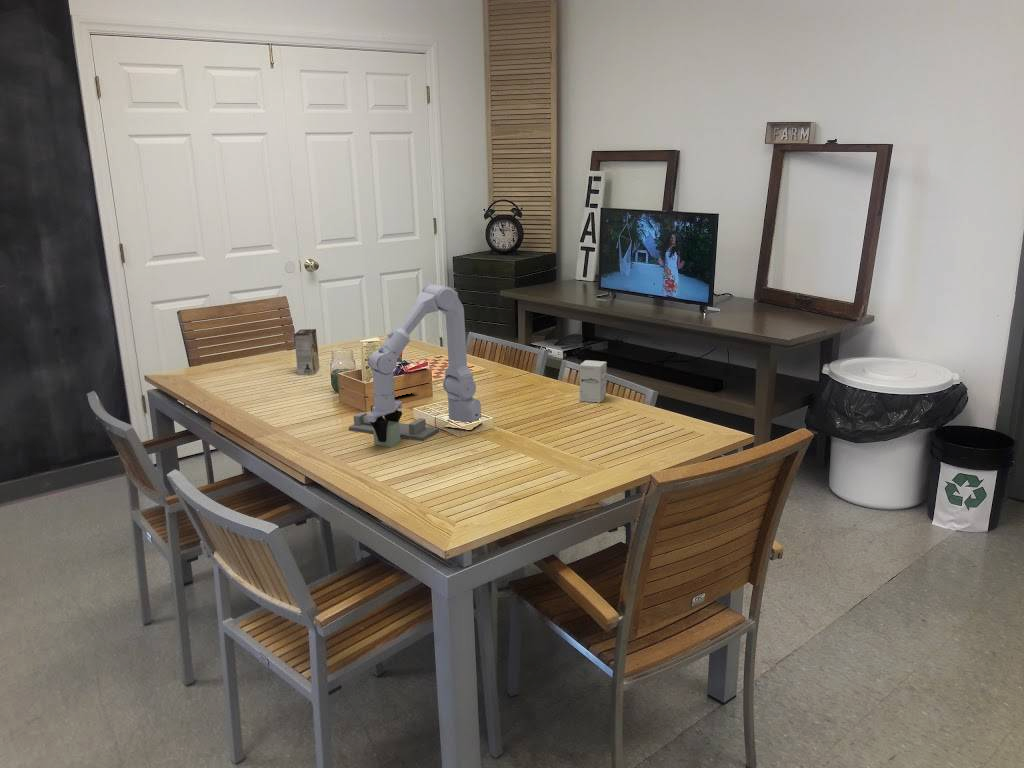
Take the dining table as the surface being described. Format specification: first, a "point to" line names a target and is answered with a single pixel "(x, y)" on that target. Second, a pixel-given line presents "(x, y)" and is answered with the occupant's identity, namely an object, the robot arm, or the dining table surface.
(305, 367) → the coffee box
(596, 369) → the supplement box
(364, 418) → the ram
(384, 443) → the block
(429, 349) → the dining table surface
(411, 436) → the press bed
